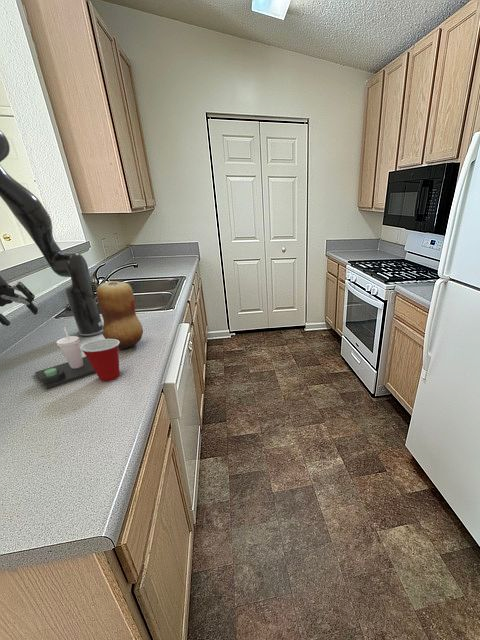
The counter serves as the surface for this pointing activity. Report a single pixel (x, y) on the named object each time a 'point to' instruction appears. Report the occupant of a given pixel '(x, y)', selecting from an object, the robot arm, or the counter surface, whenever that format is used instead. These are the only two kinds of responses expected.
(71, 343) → the smoothie
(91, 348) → the plastic cup
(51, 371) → the button
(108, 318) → the butternut squash
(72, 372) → the scale
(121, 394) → the counter surface
